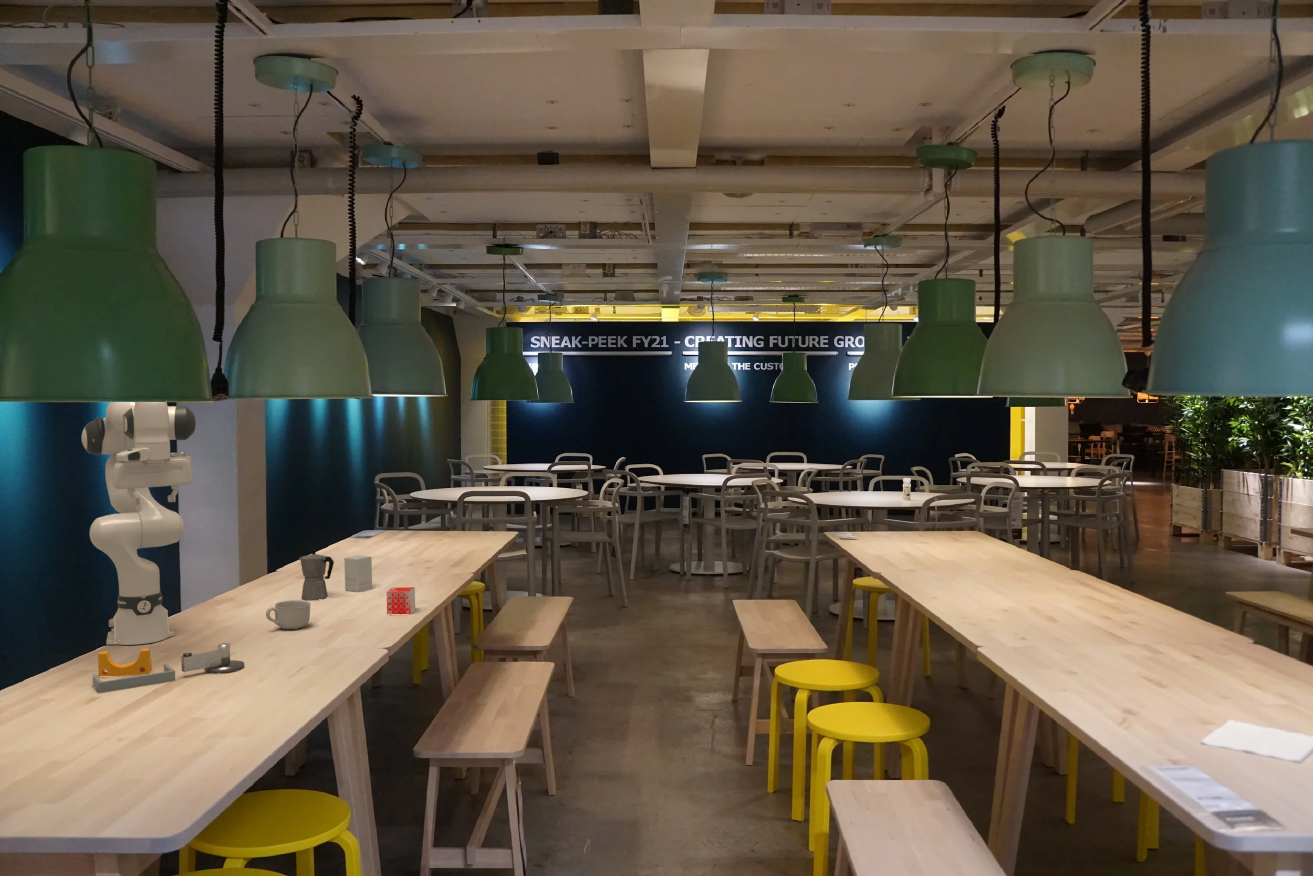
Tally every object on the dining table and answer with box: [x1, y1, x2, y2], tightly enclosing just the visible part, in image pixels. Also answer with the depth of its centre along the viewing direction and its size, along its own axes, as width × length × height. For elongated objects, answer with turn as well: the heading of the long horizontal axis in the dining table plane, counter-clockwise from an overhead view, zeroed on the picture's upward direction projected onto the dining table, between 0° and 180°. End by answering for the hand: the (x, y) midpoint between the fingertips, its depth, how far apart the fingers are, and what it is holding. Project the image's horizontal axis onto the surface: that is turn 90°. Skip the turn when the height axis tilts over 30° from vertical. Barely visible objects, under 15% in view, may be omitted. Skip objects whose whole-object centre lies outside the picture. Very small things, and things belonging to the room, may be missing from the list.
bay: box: [92, 663, 176, 693], centre depth 264 cm, size 10×18×2 cm, turn 127°
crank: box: [180, 642, 231, 673], centre depth 273 cm, size 12×3×5 cm, turn 137°
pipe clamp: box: [97, 648, 153, 677], centre depth 273 cm, size 12×4×6 cm, turn 106°
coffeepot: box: [298, 548, 335, 601], centre depth 373 cm, size 15×9×18 cm, turn 68°
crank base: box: [203, 659, 245, 675], centre depth 277 cm, size 10×10×1 cm
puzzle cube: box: [386, 586, 416, 615], centre depth 348 cm, size 8×8×8 cm
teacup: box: [265, 599, 311, 631], centre depth 325 cm, size 14×11×8 cm
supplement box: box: [343, 555, 373, 593], centre depth 389 cm, size 7×7×13 cm
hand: (154, 503), depth 284 cm, fingers open, 8 cm apart
